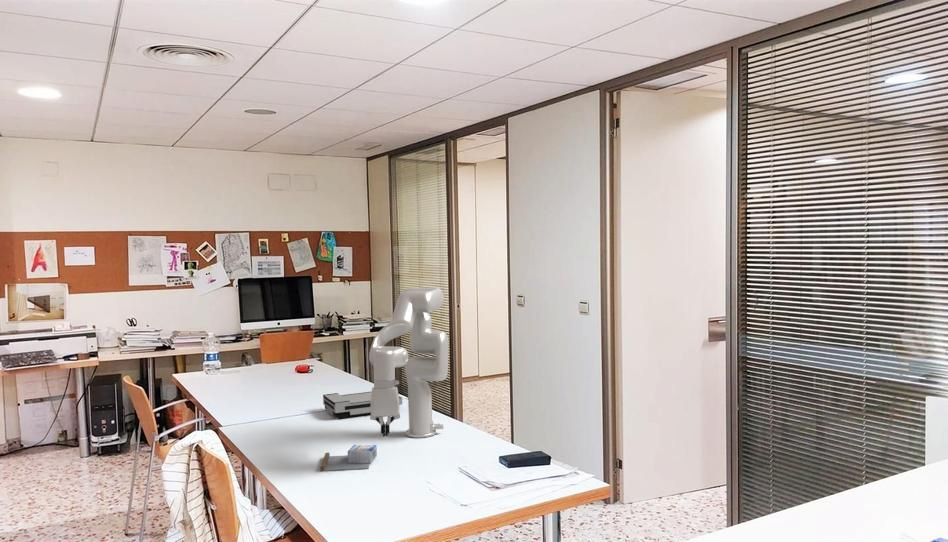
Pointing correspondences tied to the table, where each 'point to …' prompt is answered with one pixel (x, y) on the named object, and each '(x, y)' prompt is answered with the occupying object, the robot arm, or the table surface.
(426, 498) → the table surface
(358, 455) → the medicine box
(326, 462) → the walnut stop strip
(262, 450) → the table surface
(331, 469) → the slate mat
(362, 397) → the game console
